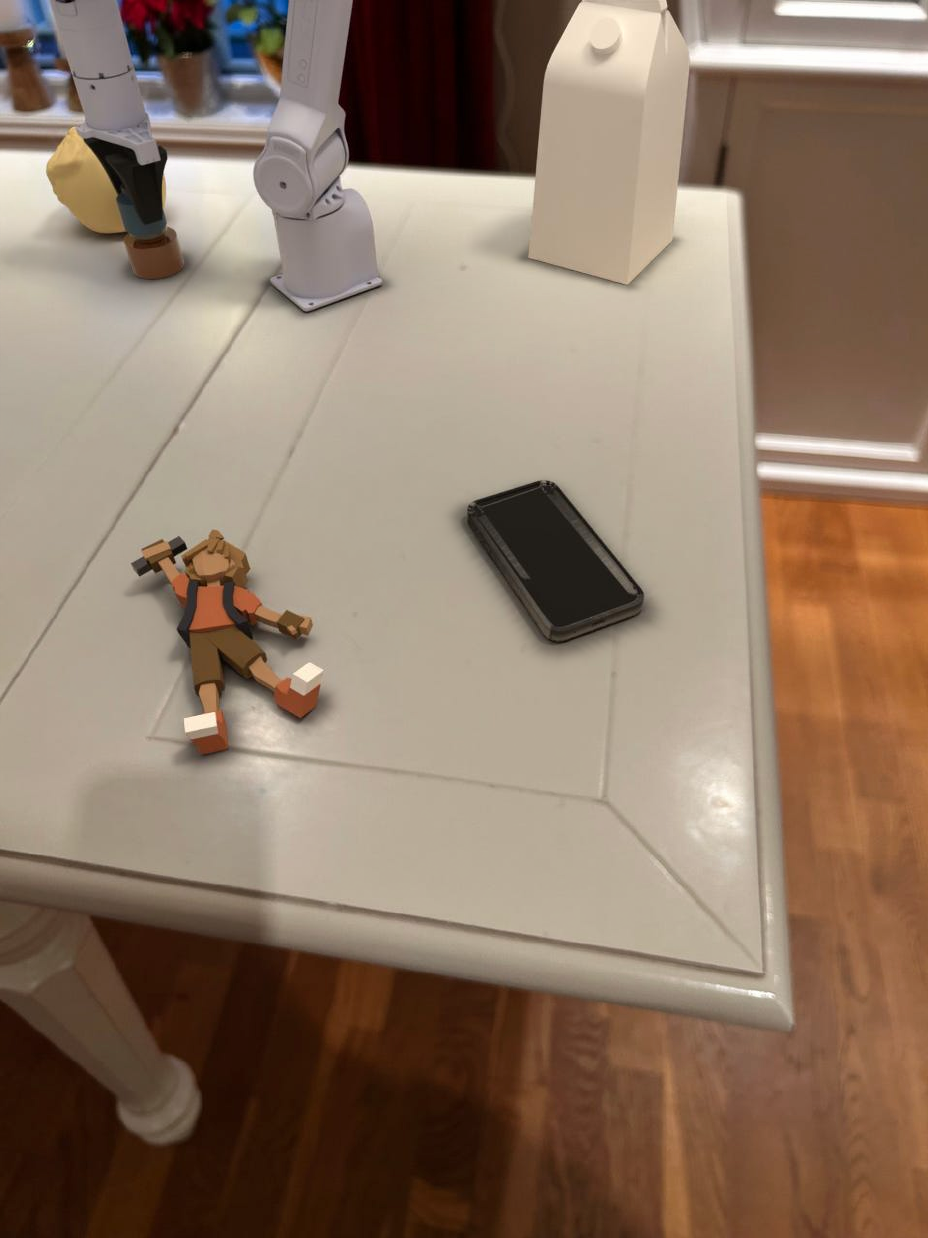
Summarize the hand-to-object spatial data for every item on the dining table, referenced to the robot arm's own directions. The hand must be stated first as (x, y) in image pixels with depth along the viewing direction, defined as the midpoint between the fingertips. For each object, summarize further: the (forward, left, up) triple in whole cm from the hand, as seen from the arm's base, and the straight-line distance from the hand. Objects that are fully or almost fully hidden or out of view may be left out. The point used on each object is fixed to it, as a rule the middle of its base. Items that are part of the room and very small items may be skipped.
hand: (143, 212), depth 97 cm
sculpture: (-1, -13, -6) cm, 14 cm away
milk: (-41, +27, -6) cm, 49 cm away
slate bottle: (0, 0, -1) cm, 1 cm away
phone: (-5, +62, -6) cm, 62 cm away
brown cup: (0, 0, -6) cm, 6 cm away
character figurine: (+18, +55, -6) cm, 58 cm away
